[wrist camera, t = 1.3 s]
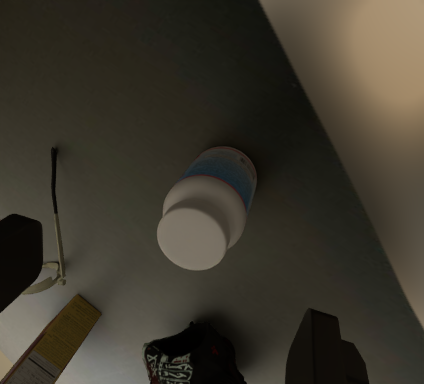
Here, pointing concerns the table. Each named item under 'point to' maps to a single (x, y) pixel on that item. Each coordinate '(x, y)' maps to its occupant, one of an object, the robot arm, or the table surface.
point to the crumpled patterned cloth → (192, 358)
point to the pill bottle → (207, 208)
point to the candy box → (54, 345)
